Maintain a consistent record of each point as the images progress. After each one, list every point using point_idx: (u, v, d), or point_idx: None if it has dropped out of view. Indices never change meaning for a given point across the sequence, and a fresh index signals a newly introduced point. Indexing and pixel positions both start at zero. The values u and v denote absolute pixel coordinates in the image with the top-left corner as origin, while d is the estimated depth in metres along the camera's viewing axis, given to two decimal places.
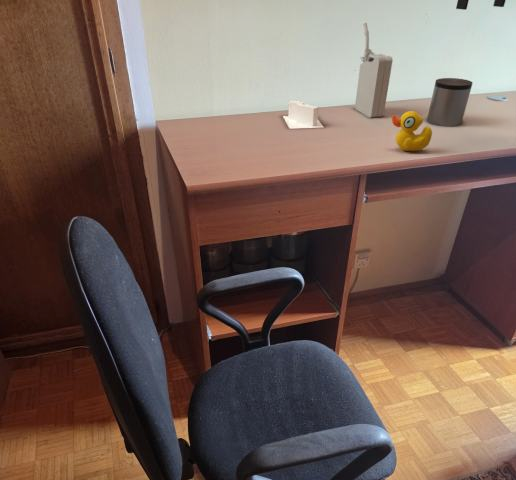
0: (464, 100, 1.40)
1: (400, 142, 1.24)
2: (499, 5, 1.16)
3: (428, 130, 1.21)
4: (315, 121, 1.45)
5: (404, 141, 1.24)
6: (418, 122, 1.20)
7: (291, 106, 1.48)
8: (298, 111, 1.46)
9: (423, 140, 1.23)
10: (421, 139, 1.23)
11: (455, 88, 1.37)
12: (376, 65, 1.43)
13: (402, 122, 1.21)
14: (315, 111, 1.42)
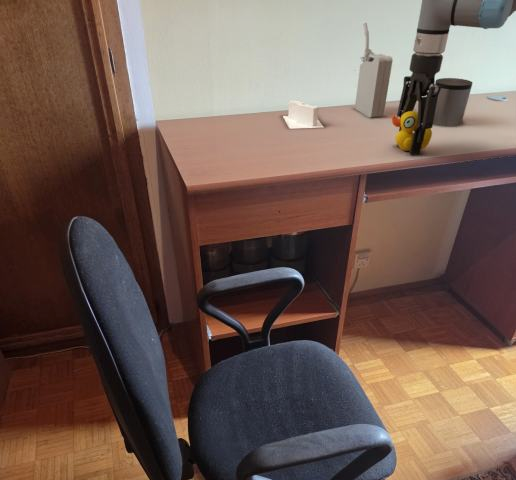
0: (464, 100, 1.40)
1: (399, 142, 1.24)
2: None
3: (428, 130, 1.21)
4: (315, 121, 1.45)
5: (404, 141, 1.24)
6: None
7: (291, 106, 1.48)
8: (298, 111, 1.46)
9: (423, 140, 1.23)
10: None
11: (455, 88, 1.37)
12: (376, 65, 1.43)
13: (402, 122, 1.21)
14: (315, 111, 1.42)
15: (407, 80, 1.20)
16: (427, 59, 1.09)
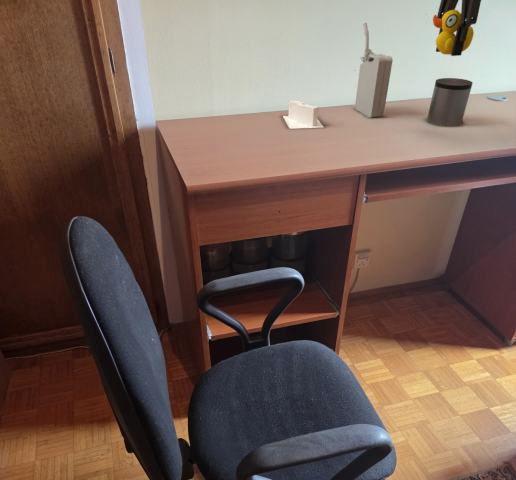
0: (464, 100, 1.40)
1: (440, 44, 1.23)
2: None
3: (470, 29, 1.20)
4: (315, 121, 1.45)
5: (445, 42, 1.22)
6: None
7: (291, 106, 1.48)
8: (298, 111, 1.46)
9: (465, 40, 1.21)
10: None
11: (455, 88, 1.37)
12: (376, 65, 1.43)
13: (444, 21, 1.20)
14: (315, 111, 1.42)
15: None
16: None
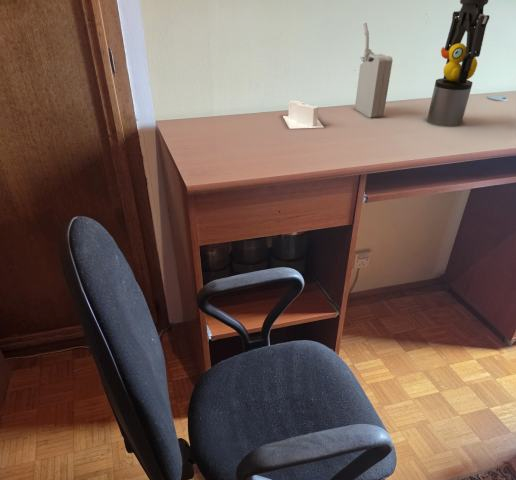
0: (464, 100, 1.40)
1: (447, 73, 1.38)
2: None
3: (474, 60, 1.35)
4: (315, 121, 1.45)
5: (452, 71, 1.37)
6: None
7: (291, 106, 1.48)
8: (298, 111, 1.46)
9: None
10: None
11: (455, 88, 1.37)
12: (376, 65, 1.43)
13: (451, 53, 1.35)
14: (315, 111, 1.42)
15: (456, 15, 1.34)
16: None
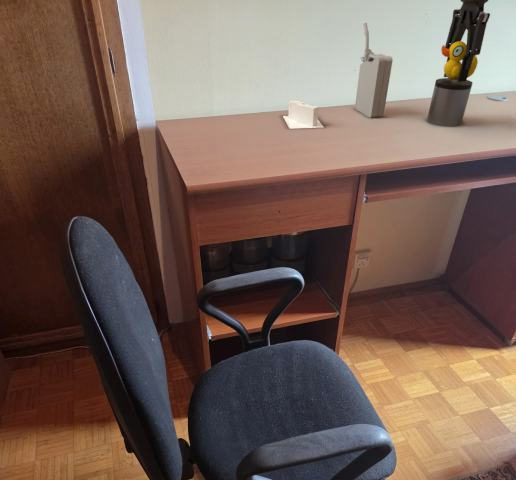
0: (464, 100, 1.40)
1: (448, 71, 1.38)
2: None
3: (474, 58, 1.35)
4: (315, 121, 1.45)
5: (452, 69, 1.37)
6: None
7: (291, 106, 1.48)
8: (298, 111, 1.46)
9: None
10: None
11: (455, 88, 1.37)
12: (376, 65, 1.43)
13: (451, 51, 1.35)
14: (315, 111, 1.42)
15: (456, 13, 1.33)
16: None
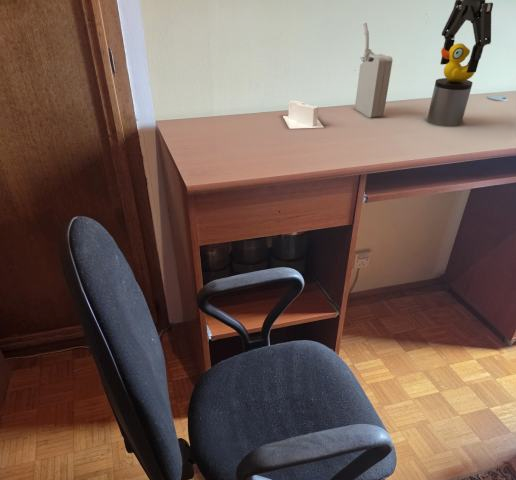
0: (464, 100, 1.40)
1: (448, 73, 1.38)
2: None
3: None
4: (315, 121, 1.45)
5: (452, 71, 1.37)
6: (466, 53, 1.34)
7: (291, 106, 1.48)
8: (298, 111, 1.46)
9: None
10: None
11: (455, 88, 1.37)
12: (375, 65, 1.43)
13: (451, 53, 1.35)
14: (315, 111, 1.42)
15: (458, 4, 1.32)
16: None
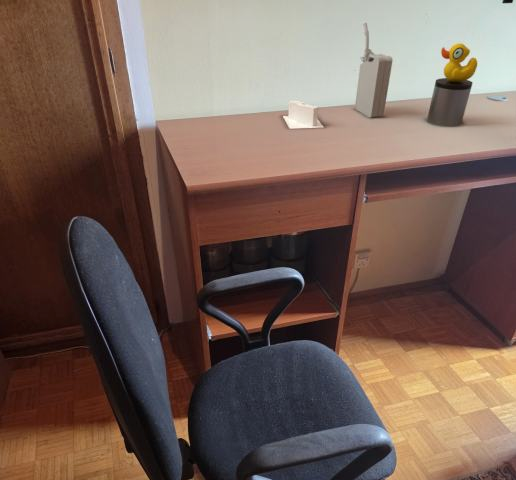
0: (464, 100, 1.40)
1: (448, 73, 1.38)
2: (510, 1, 1.22)
3: (474, 60, 1.35)
4: (315, 121, 1.45)
5: (452, 71, 1.37)
6: (466, 53, 1.34)
7: (291, 106, 1.48)
8: (298, 111, 1.46)
9: (469, 70, 1.37)
10: (468, 69, 1.36)
11: (455, 88, 1.37)
12: (375, 65, 1.43)
13: (451, 53, 1.35)
14: (315, 111, 1.42)
15: None
16: None
